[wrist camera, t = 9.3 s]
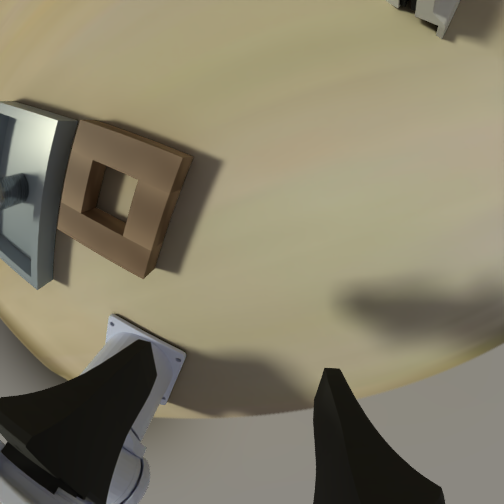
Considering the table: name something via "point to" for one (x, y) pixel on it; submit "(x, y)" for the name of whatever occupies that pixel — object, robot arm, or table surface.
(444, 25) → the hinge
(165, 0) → the table surface
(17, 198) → the pin
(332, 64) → the table surface
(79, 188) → the holder
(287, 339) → the table surface
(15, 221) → the tray
